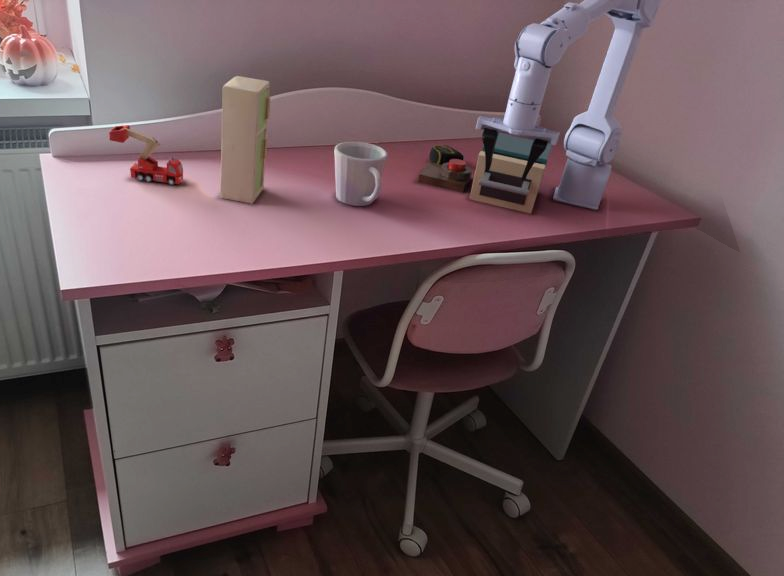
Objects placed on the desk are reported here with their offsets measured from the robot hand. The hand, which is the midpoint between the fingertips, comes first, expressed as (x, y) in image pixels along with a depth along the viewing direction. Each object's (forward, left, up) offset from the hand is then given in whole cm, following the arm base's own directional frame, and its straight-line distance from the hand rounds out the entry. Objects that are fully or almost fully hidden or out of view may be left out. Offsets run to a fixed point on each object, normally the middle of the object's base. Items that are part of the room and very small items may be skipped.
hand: (505, 174), depth 125 cm
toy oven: (0, -18, -10) cm, 21 cm away
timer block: (+14, -18, -10) cm, 25 cm away
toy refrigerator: (+47, +14, -11) cm, 50 cm away
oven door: (0, -10, -11) cm, 14 cm away
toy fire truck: (+66, +18, -11) cm, 69 cm away
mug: (+26, +5, -11) cm, 29 cm away
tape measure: (+16, -29, -11) cm, 35 cm away
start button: (+12, -18, -7) cm, 23 cm away
